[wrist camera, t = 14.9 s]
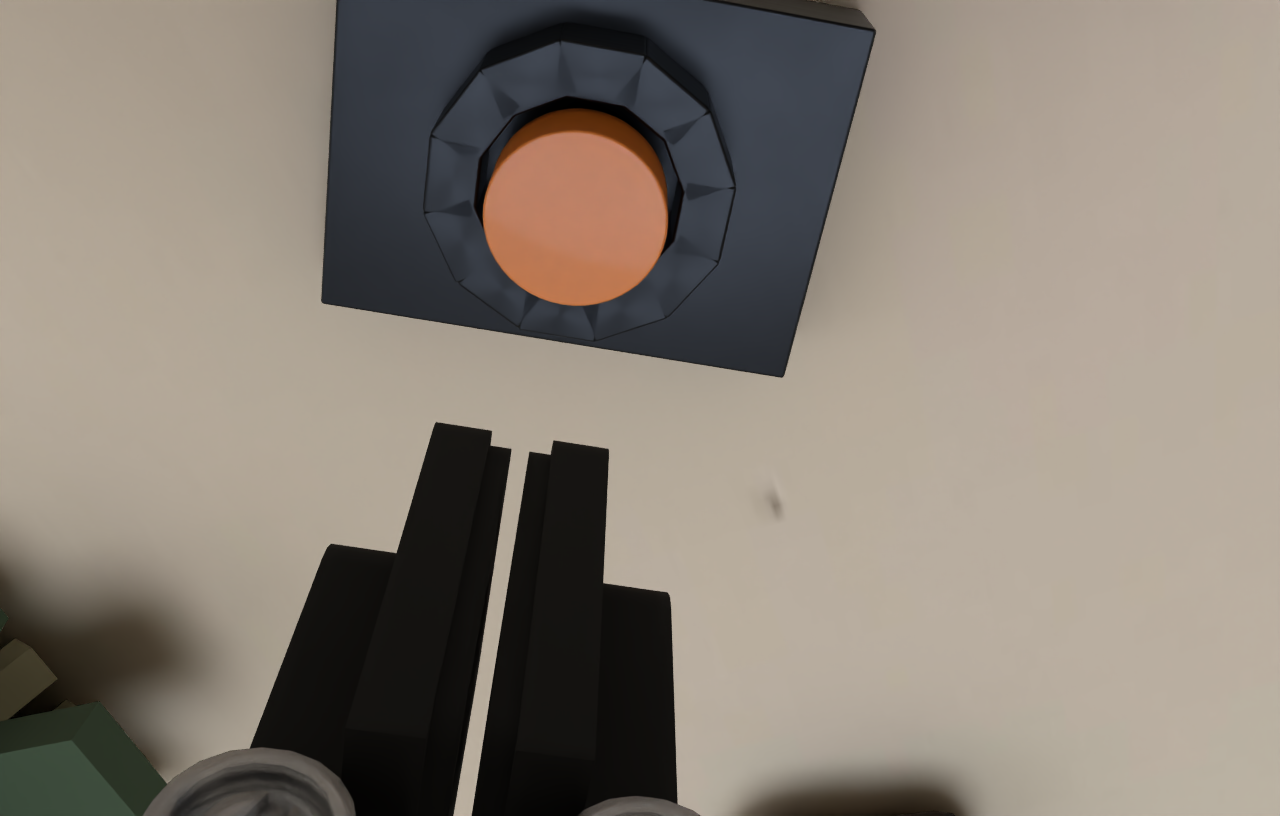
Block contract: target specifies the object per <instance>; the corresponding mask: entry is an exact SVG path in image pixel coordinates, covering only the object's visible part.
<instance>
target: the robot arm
mask: <svg viewBox="0 0 1280 816" xmlns="http://www.w3.org/2000/svg"><path fill="white" fill-rule="evenodd" d="M491 436H492V431H489V430H483V429H477V428H470V427H464V426H457V425H451V424H444V423H438V422H436V423H435V425H434V428H433V431H432V435H431V438H430V442H429V445H428V448H427V452H426V455H425V459H424V462H423V465H422V469H421V472H420V476H419V479H418V482H417V486H416V489H415V493H414V496H413V499H412V503H411V506H410V510H409V513H408V516H407V520H406V523H405V527H404V530H403V533H402V537H401V540H400V544H399V547H398V550H397V553H391V552H384V551H377V550H370V549H363V548H357V547H350V546H343V545H336V544H330V545H329V546H328V547H327V549H326V551H325V553H324V556H323V558H322V560H321V563H320V566H319V568H318V571H317V573H316V576H315V579H314V581H313V584H312V587H311V589H310V592H309V594H308V597H307V600H306V602H305V605H304V608H303V610H302V613H301V615H300V618H299V621H298V623H297V626H296V628H295V631H294V634H293V636H292V639H291V642H290V644H289V647H288V649H287V652H286V655H285V657H284V660H283V663H282V665H281V668H280V670H279V673H278V676H277V678H276V681H275V684H274V686H273V689H272V691H271V694H270V697H269V699H268V702H267V705H266V707H265V710H264V712H263V715H262V718H261V720H260V723H259V726H258V728H257V731H256V733H255V736H254V739H253V741H252V744H251V746H250V749H242V750H232V751H228V752H225V753H222V754H219V755H216V756H213V757H210V758H208V759H205V760H202V761H199V762H198V763H196V764H194V765H193V766H191V767H190V768H188V769H187V770H185V771H183V772H182V773H180V774H179V775H177V776H176V777H174V778H173V779H172V780H171V781H170V782H169V783H168V784H167V785H166V786H165V787H164V789H163V790H162V791H161V792H160V793H159V794H158V795H157V796H156V797H155V798H154V799H153V801H152V802H151V804H150V805H149V807H148V808H147V810H146V811H145V813H144V814H143V816H453V814H454V808H455V803H456V797H457V791H458V785H459V779H460V774H461V768H462V762H463V756H464V750H465V745H466V739H467V733H468V727H469V721H470V716H471V710H472V704H473V698H474V692H475V686H476V680H477V674H478V668H479V661H480V655H481V648H482V642H483V635H484V628H485V622H486V615H487V609H488V602H489V595H490V589H491V582H492V576H493V569H494V562H495V556H496V549H497V543H498V536H499V529H500V523H501V516H502V510H503V503H504V496H505V490H506V483H507V476H508V470H509V463H510V457H511V449H508V448H502V447H495V446H490V445H491ZM608 463H609V450H608V449H605V448H599V447H593V446H586V445H580V444H573V443H567V442H560V441H553V446H552V451H551V455H547V454H541V453H534V452H529V458H528V464H527V470H526V476H525V483H524V489H523V495H522V501H521V508H520V514H519V520H518V526H517V532H516V539H515V545H514V551H513V557H512V564H511V570H510V576H509V582H508V589H507V595H506V601H505V607H504V613H503V620H502V626H501V632H500V638H499V645H498V651H497V657H496V663H495V670H494V676H493V682H492V689H491V695H490V701H489V708H488V714H487V721H486V727H485V734H484V740H483V746H482V753H481V759H480V766H479V772H478V779H477V785H476V792H475V798H474V804H473V811H472V816H700V815H699V814H697V813H696V812H694V811H693V810H691V809H688V808H686V807H683V806H680V805H678V804H677V774H676V743H675V713H674V682H673V652H672V621H671V602H670V596H669V594H668V593H667V592H660V591H653V590H646V589H639V588H632V587H625V586H618V585H611V584H605V583H603V574H604V552H605V529H606V507H607V485H608Z"/></svg>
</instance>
